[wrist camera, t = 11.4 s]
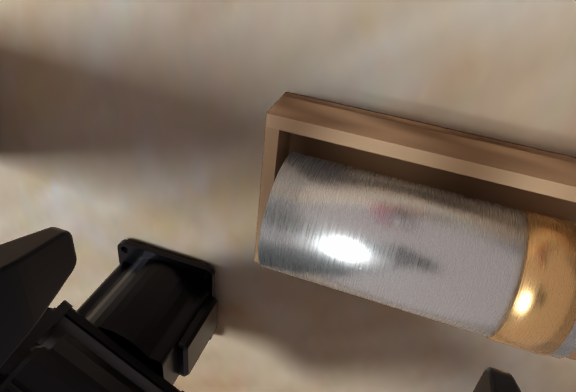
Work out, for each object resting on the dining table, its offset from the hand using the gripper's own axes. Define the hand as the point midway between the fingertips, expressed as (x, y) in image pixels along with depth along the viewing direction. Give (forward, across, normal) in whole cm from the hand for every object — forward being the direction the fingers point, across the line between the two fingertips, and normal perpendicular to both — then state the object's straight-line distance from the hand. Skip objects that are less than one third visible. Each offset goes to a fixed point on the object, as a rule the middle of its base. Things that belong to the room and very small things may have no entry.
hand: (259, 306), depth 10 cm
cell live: (+12, -4, +5) cm, 14 cm away
